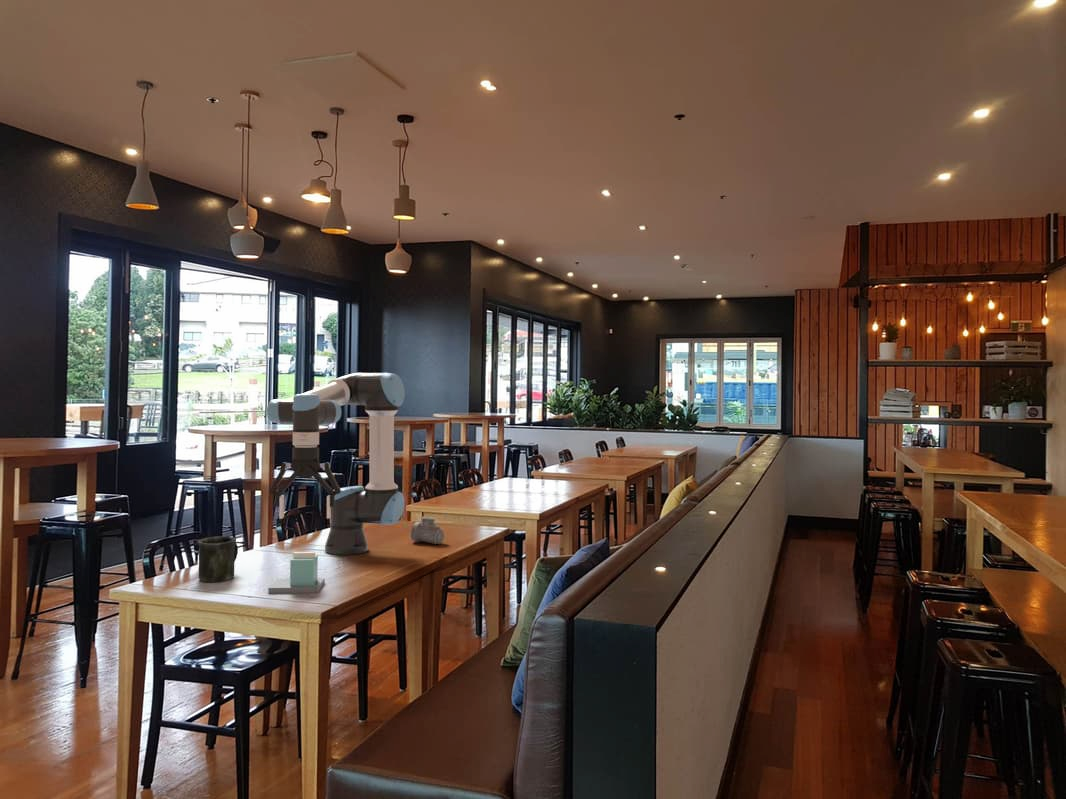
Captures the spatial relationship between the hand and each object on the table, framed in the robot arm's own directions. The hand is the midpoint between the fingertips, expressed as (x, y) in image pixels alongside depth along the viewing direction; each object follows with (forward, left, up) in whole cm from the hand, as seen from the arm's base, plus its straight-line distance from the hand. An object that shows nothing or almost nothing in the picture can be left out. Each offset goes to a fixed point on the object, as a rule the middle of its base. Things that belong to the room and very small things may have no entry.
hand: (305, 517), depth 228 cm
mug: (-13, -28, -21) cm, 37 cm away
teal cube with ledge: (0, 0, -19) cm, 19 cm away
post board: (0, -2, -21) cm, 21 cm away
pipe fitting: (-64, +34, -21) cm, 75 cm away
